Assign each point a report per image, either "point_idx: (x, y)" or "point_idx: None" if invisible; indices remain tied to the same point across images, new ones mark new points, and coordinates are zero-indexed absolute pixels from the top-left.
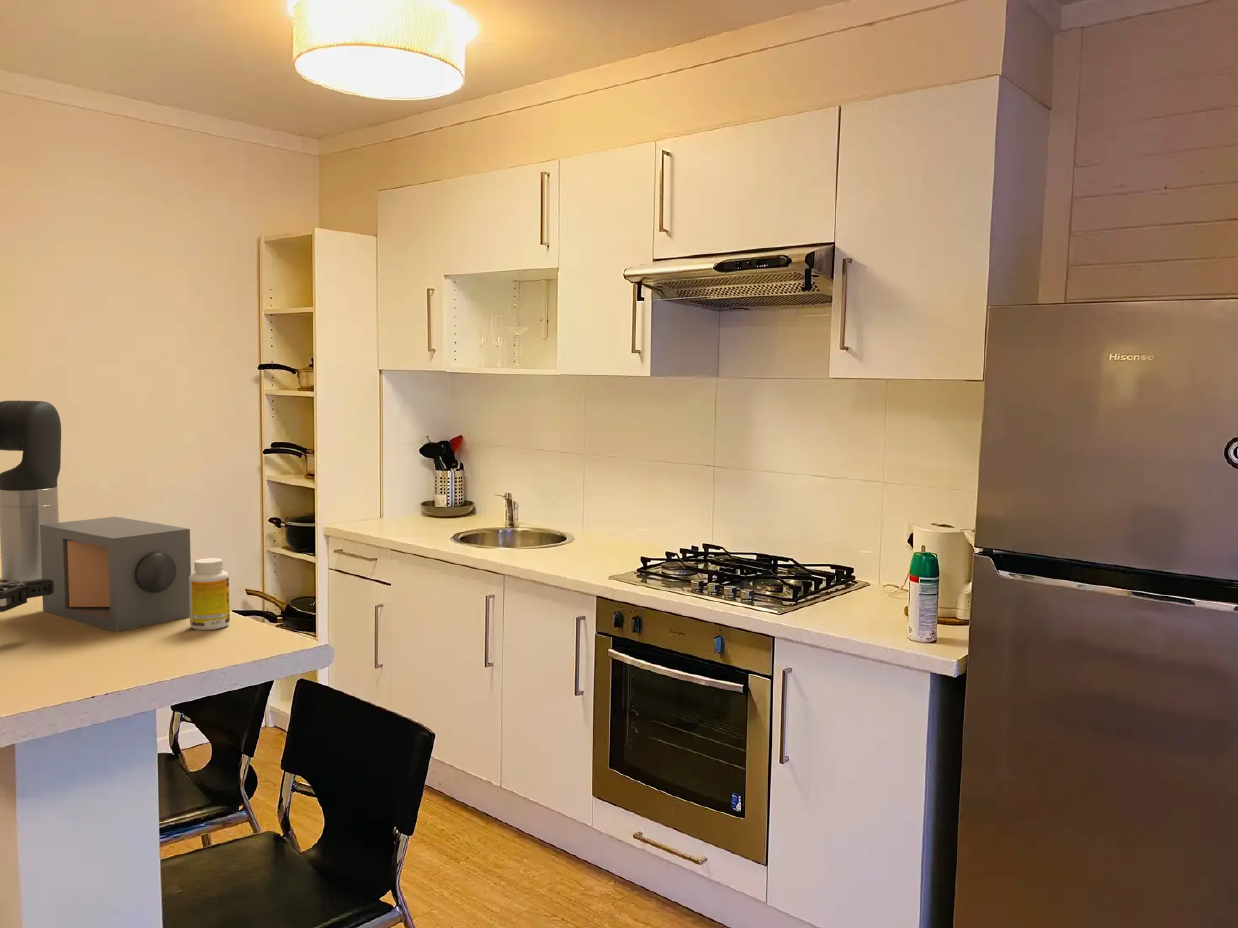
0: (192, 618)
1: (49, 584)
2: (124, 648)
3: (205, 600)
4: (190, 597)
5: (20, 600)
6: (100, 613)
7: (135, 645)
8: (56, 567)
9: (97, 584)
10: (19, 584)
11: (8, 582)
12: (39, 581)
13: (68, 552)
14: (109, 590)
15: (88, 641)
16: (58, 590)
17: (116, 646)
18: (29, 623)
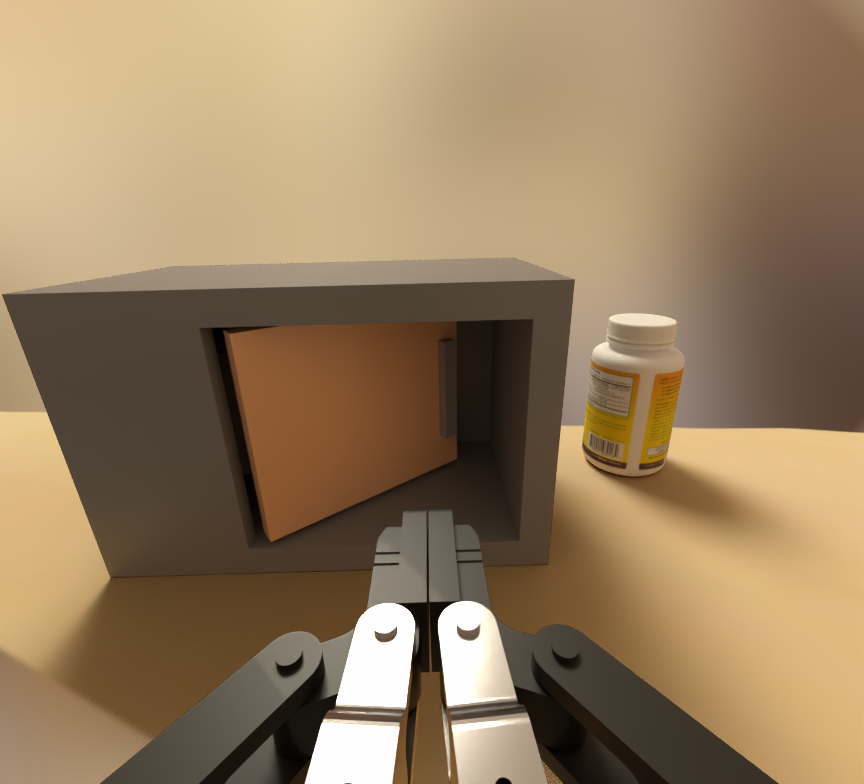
0: (641, 456)
1: (475, 534)
2: (789, 624)
3: (673, 410)
4: (640, 412)
5: (586, 740)
6: None
7: (755, 592)
8: (169, 438)
9: (342, 450)
10: (501, 642)
11: (366, 660)
12: (453, 545)
13: (240, 375)
14: (373, 455)
15: (624, 653)
16: (196, 507)
17: (748, 628)
18: (191, 669)
